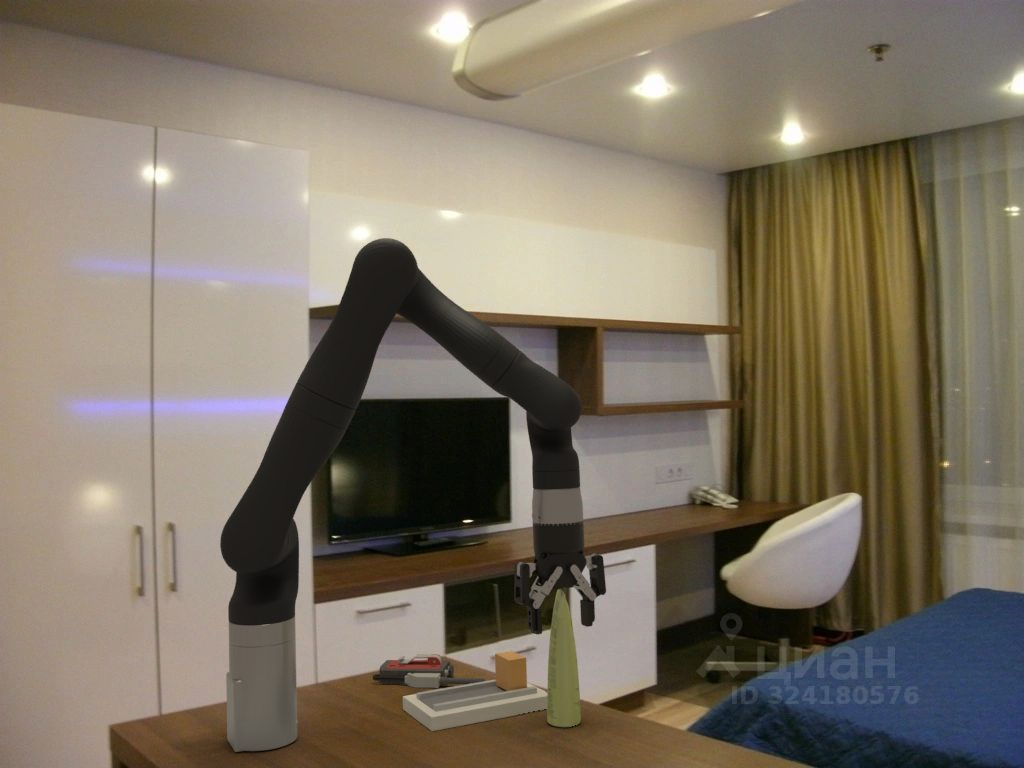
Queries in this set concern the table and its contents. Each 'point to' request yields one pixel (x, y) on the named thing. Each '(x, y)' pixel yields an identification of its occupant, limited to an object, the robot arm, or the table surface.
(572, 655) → the tube
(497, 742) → the table surface
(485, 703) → the switch board
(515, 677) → the switch tab
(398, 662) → the walkie-talkie
